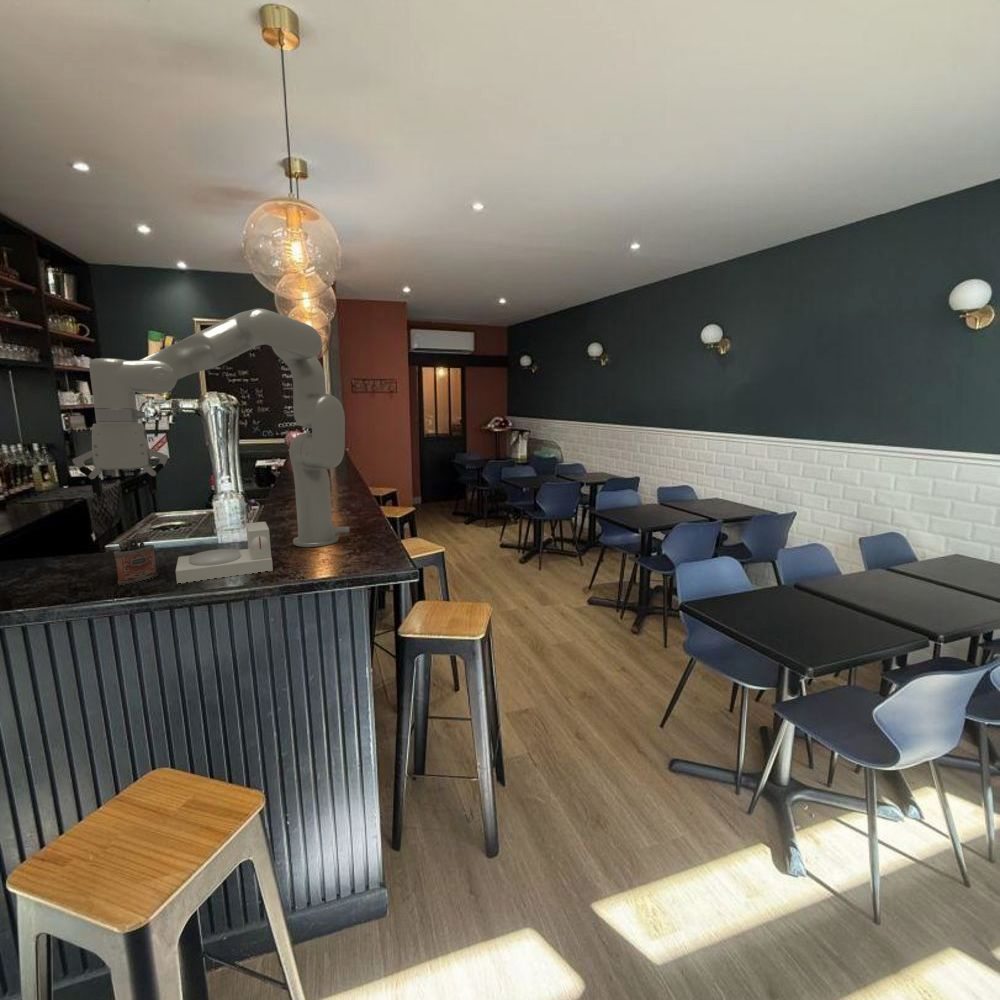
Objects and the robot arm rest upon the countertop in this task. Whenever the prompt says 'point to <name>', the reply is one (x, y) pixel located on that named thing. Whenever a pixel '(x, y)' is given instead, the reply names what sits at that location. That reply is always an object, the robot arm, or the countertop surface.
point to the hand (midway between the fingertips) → (126, 494)
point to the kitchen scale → (229, 558)
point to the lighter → (135, 561)
